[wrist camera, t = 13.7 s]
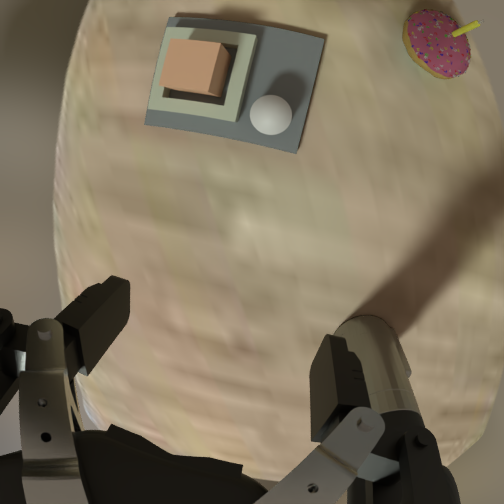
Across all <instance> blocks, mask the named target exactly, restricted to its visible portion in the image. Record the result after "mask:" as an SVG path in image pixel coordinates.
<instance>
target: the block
mask: <svg viewBox="0 0 504 504" xmlns="http://www.w3.org/2000/svg"><path fill="white" fill-rule="evenodd" d="M231 57H232V56H231V55H230V54H229V53H228V51H227V50H226V49H225V48H224V46H223V45H222V44H221V43H216V42H208V41H199V40H187V39H173V38H171V39H170V43H169V46H168V50H167V53H166V57H165V61H164V65H163V69H162V73H161V77H160V81H159V86H163V87H167V88H170V89H174V90H178V91H184V92H191V93H198V94H204V95H211V96H216V97H221V96H222V92H223V88H224V84H225V80H226V76H227V72H228V68H229V64H230V61H231Z"/></svg>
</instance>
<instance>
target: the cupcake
mask: <svg viewBox="0 0 504 504" xmlns="http://www.w3.org/2000/svg"><path fill="white" fill-rule="evenodd" d="M483 21H484V20H481V21H479V22H478V21H477V20H476V21H473V22H471V23H469V24H467V25H465V26H463V27H460V26H459V24H458V23H457V22H456V21H455V22H454V19H452V18H451V16H448V15H447V14H444V13H443V12H439V11H434V10H426V9H424V10H421V11H417V12H415V13H413V14H412V15H411V16H410V17H409V18H408V19H407V20H406V21H405V23H404V28H403V35H402V39H403V42H404V44H405V46H406V49H407V52H408V54H409V56H410V57H411V58H412V59H413V61H414V62H416V63H417V64H418V65H419V66H420V67H422V68H423V69H424V70H426V71H428V72H429V73H431V74H432V75H433V76H434V77H437V78H441V79H451V78H454V77H456V76H458V75H461V74H463V73H466V72H465V71H466V70H467V68H468V65H469V62H470V58H471V55H470V45H469V43H468V39H467V36H466V34H465V33H466V32H468V31H470V30H472V29H474V28H477V27H479V26H480V23H482V22H483ZM458 77H459V76H458Z"/></svg>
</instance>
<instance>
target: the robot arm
mask: <svg viewBox="0 0 504 504" xmlns="http://www.w3.org/2000/svg"><path fill="white" fill-rule="evenodd" d="M129 315H130V282H129V281H128V280H126V279H122V278H119V277H116V276H113V275H112V276H110V277H109V278H108V279H107V280H106V281H105V282H103V283H102V284H100V283H97V284H95V285H92V286H90V287H88V288H87V289H85V290H84V291H83V292H82V293H81V294H80V295H79V296H78V297H77V298H76V299H75V300H74V301H72V302H71V303H70V304H69V305H68V306H67V307H66V308H65V309H64V310H63V311H61V312H60V313H59V314H58V315H57V316H56V317H55V318H54V319H51V318H43V319H39V320H36V321H35V322H33V323H32V324H31V325H30V326H28V325H23V324H19V323H14V320H13V316H12V314H11V312H10V311H8V310H6V309H2V308H0V415H1V414H2V412H3V410H4V409H5V408H6V406H7V405H8V403H9V402H10V401H11V399H12V398H13V396H14V395H15V394H16V392H17V391H18V389H19V418H20V419H19V420H20V435H21V446H22V450H20V451H17V452H13V453H9V454H6V455H2V456H0V504H335V503H336V501H338V499H339V498H340V497H341V496H342V494H343V493H344V492H345V491H346V490H347V504H461V503H460V498H459V492H458V489H457V485H456V483H455V480H454V477H453V476H452V474H451V472H450V471H449V469H448V468H447V467H445V466H443V465H442V463H441V458H440V454H439V450H438V446H437V442H436V439H435V437H434V435H433V434H432V433H431V432H430V431H429V430H428V429H426V428H425V425H424V422H423V419H422V416H421V413H420V410H419V407H418V404H417V401H416V399H415V396H414V393H413V390H412V387H411V384H410V382H409V379H408V378H409V377H410V375H411V372H412V371H411V368H410V366H409V363H408V361H407V358H406V356H405V354H404V351H403V349H402V346H401V344H400V342H399V339H398V337H397V334H396V332H395V330H394V329H393V328H389V327H388V325H387V324H386V323H385V322H384V321H383V320H382V319H380V318H378V317H375V316H359V317H356V318H353V319H350V320H349V321H347V322H345V323H344V324H342V325H341V326H340V327H339V328H338V329H337V330H336V332H335V334H334V335H330V334H326V335H325V337H324V339H323V341H322V343H321V345H320V347H319V349H318V352H317V354H316V356H315V358H314V360H313V362H312V365H311V369H310V375H309V378H310V411H311V441H312V442H321V444H320V445H318V446H317V447H316V448H315V449H314V450H313V451H312V452H311V453H310V454H309V455H308V456H307V457H306V458H305V459H304V460H303V461H302V462H301V463H300V464H299V465H298V466H297V467H296V468H294V469H293V470H292V471H291V472H290V473H289V474H288V475H287V476H286V477H285V478H283V479H282V480H281V481H280V482H279V483H278V484H277V485H276V486H274V487H273V488H272V489H271V490H270V491H268V490H267V489H266V488H265V487H264V486H262V485H261V484H260V483H258V482H257V481H256V480H254V479H252V478H251V477H249V476H247V475H245V474H242V468H243V465H241V464H236V463H231V462H226V461H222V460H218V459H214V458H210V457H193V456H180V455H173V454H170V453H168V452H166V451H165V450H163V449H161V448H160V447H158V446H156V445H155V444H153V443H151V442H150V441H148V440H147V439H145V438H144V437H142V436H140V435H137V434H135V433H132V432H130V431H127V430H125V429H122V428H120V427H118V426H115V425H113V424H111V425H110V427H109V428H108V430H107V431H102V430H84V426H83V423H82V419H81V415H80V410H79V403H78V398H77V391H76V385H75V379H74V377H75V375H76V374H77V373H78V372H79V373H81V374H83V375H86V376H88V375H89V374H90V372H91V371H92V370H93V368H94V367H95V366H96V364H97V363H98V361H99V360H100V359H101V357H102V356H103V355H104V353H105V352H106V351H107V349H108V348H109V347H110V345H111V344H112V343H113V341H114V340H115V339H116V337H117V336H118V335H119V333H120V332H121V331H122V329H123V328H124V327H125V325H126V324H127V322H128V319H129Z"/></svg>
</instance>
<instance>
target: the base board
mask: <svg viewBox="0 0 504 504" xmlns="http://www.w3.org/2000/svg"><path fill="white" fill-rule="evenodd" d="M171 38H173V39H187V40H199V41H208V42H216V43H221V44H222V45H223V46H224V48H225V49H226V50H227V51H228V53H229V54H230V55H231V56H232V57H231V61H230V64H229V68H228V72H227V76H226V80H225V84H224V88H223V92H222V96H221V97H216V96H211V95H204V94H198V93H191V92H184V91H178V90H174V89H170V88H167V87H163V86H159V81H160V77H161V73H162V69H163V65H164V61H165V57H166V53H167V50H168V46H169V43H170V39H171ZM323 44H324V39H322V38H318V37H314V36H311V35H307V34H302V33H298V32H294V31H289V30H285V29H280V28H275V27H269V26H264V25H257V24H251V23H244V22H236V21H228V20H218V19H205V18H187V17H169V19H168V23H167V26H166V30H165V33H164V37H163V41H162V44H161V48H160V52H159V56H158V60H157V64H156V68H155V73H154V77H153V82H152V87H151V91H150V96H149V101H148V107H147V112H146V118H145V124H144V125H150V126H158V127H165V128H172V129H179V130H185V131H191V132H197V133H203V134H208V135H214V136H219V137H224V138H229V139H234V140H239V141H244V142H248V143H253V144H257V145H262V146H266V147H270V148H274V149H278V150H282V151H286V152H290V153H294V154H296V153H297V149H298V145H299V141H300V137H301V133H302V130H303V126H304V122H305V118H306V114H307V110H308V106H309V102H310V98H311V93H312V89H313V85H314V81H315V77H316V73H317V69H318V65H319V61H320V56H321V52H322V48H323Z"/></svg>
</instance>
